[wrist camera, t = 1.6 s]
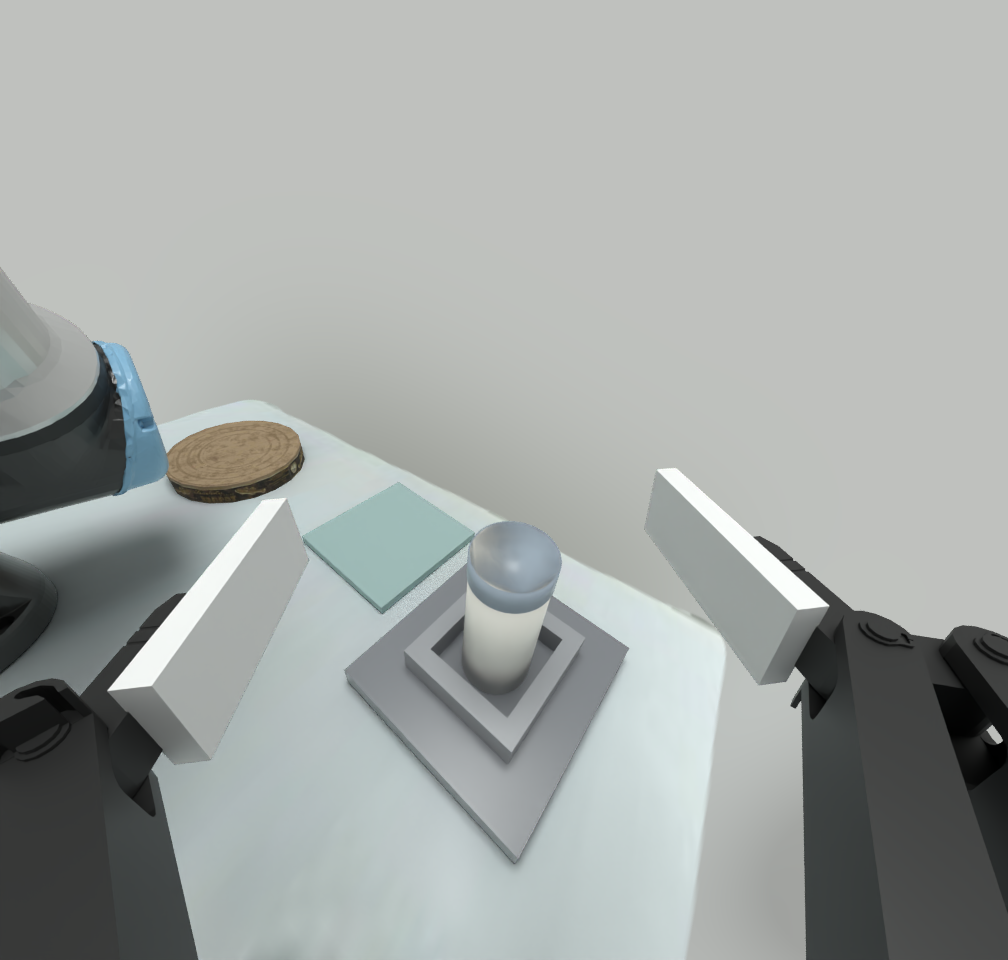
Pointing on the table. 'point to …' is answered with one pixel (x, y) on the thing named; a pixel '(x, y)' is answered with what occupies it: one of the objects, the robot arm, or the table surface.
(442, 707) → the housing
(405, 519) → the mat
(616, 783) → the table surface
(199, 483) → the wood slice coaster
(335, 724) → the table surface
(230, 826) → the table surface
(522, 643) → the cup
